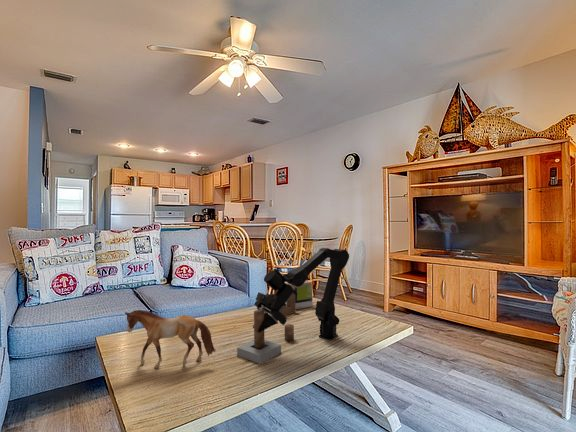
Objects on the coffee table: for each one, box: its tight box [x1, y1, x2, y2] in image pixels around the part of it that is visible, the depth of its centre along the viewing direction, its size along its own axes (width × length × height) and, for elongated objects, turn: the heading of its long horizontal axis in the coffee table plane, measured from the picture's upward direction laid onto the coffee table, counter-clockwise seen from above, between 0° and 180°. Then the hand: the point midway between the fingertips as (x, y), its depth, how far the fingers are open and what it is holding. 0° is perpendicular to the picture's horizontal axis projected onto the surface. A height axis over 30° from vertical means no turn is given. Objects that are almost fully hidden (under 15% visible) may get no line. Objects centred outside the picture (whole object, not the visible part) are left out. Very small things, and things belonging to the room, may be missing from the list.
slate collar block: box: [236, 339, 282, 365], centre depth 118 cm, size 12×12×3 cm
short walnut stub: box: [284, 323, 295, 342], centre depth 132 cm, size 4×4×6 cm
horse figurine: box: [124, 309, 217, 369], centre depth 109 cm, size 31×8×21 cm, turn 96°
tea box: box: [285, 280, 313, 310], centre depth 182 cm, size 15×10×15 cm, turn 115°
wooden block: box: [280, 286, 296, 316], centre depth 168 cm, size 4×11×18 cm, turn 135°
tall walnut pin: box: [253, 309, 265, 350], centre depth 118 cm, size 4×4×14 cm
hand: (256, 329), depth 117 cm, fingers closed on tall walnut pin, 4 cm apart
